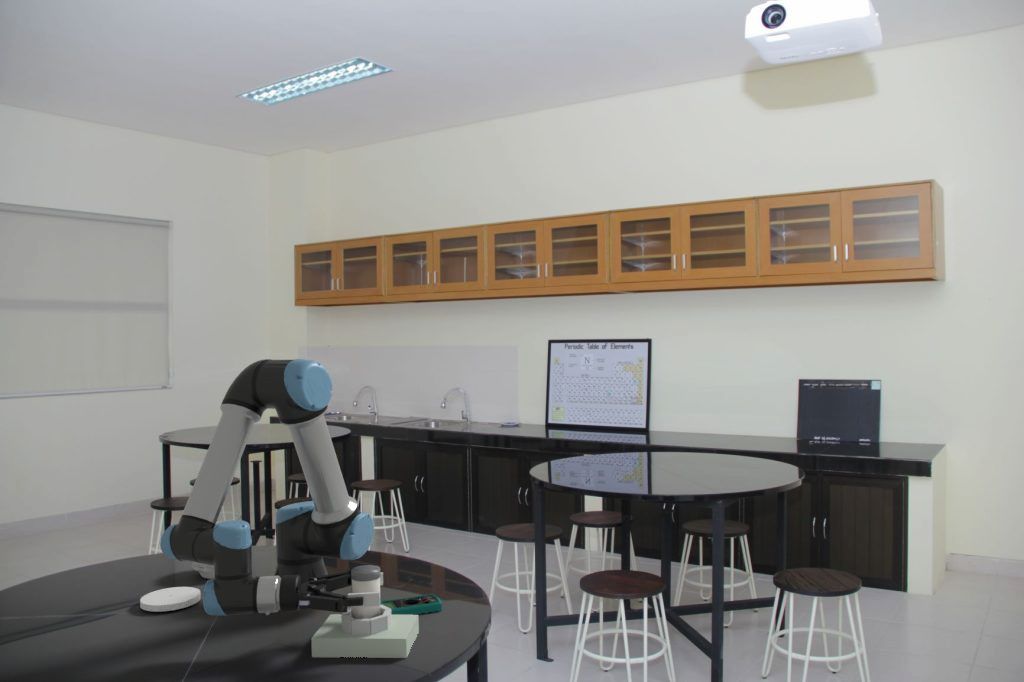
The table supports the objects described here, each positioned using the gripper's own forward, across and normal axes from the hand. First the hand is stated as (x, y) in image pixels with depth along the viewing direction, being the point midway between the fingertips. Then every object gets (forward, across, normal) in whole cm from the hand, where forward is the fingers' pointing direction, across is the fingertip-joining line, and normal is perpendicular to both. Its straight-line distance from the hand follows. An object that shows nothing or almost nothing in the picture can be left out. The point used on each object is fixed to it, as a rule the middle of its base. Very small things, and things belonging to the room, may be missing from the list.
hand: (381, 588), depth 175 cm
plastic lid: (-54, -34, -12) cm, 65 cm away
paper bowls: (-48, -58, -12) cm, 76 cm away
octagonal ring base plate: (-3, 0, -12) cm, 12 cm away
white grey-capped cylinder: (-3, 0, -8) cm, 8 cm away
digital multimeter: (+5, -20, -13) cm, 24 cm away
